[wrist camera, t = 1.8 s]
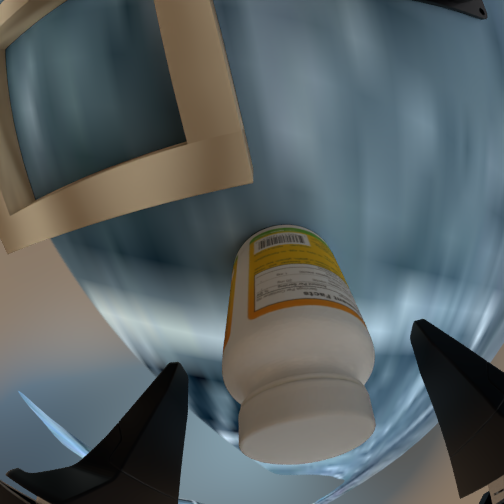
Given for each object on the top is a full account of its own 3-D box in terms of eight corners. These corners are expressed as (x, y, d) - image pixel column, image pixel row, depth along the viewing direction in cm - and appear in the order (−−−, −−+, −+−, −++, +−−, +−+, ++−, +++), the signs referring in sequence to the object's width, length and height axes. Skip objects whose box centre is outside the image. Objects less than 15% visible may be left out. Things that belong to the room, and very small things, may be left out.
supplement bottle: (286, 321, 17) (302, 476, 8) (213, 274, 15) (178, 447, 7) (352, 262, 15) (426, 419, 6) (279, 200, 13) (321, 373, 5)
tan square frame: (191, -76, 6) (181, -99, 3) (253, 169, 12) (253, 182, 10) (-12, 44, 7) (-36, 44, 5) (29, 236, 14) (7, 254, 12)
